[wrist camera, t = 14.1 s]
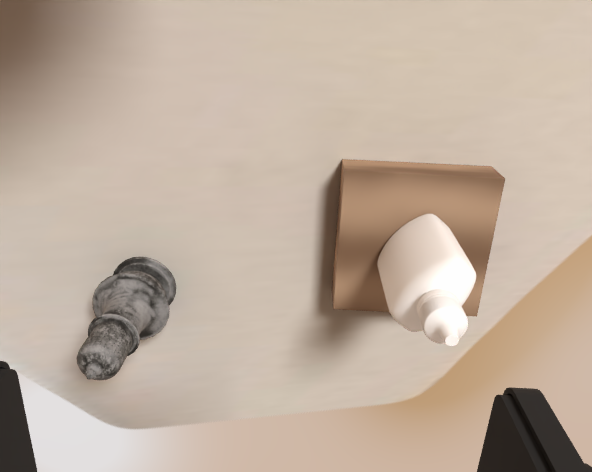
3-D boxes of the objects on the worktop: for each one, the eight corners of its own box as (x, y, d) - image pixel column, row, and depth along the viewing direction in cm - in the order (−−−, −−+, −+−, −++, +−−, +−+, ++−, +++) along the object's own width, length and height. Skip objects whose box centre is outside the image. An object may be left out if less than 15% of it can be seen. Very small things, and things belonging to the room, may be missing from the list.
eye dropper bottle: (457, 259, 39) (514, 359, 28) (382, 281, 40) (409, 386, 29) (443, 206, 37) (498, 290, 26) (366, 230, 38) (388, 321, 27)
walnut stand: (342, 159, 39) (344, 170, 36) (491, 166, 39) (505, 178, 36) (331, 289, 44) (333, 309, 41) (466, 296, 44) (476, 316, 41)
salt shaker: (138, 239, 42) (78, 321, 31) (194, 286, 44) (155, 380, 33) (94, 284, 44) (21, 376, 33) (149, 328, 46) (97, 430, 35)
